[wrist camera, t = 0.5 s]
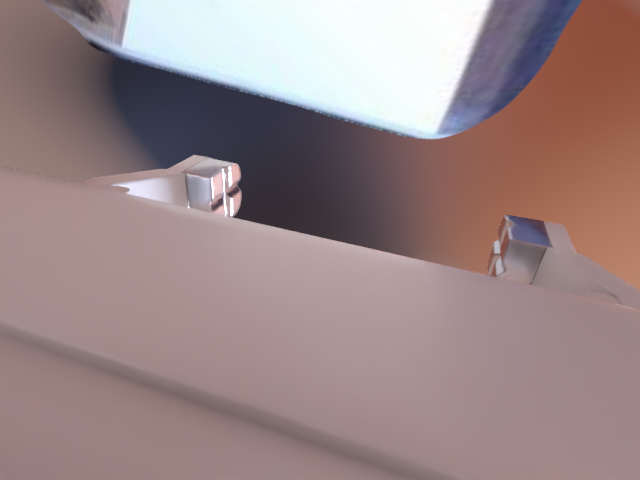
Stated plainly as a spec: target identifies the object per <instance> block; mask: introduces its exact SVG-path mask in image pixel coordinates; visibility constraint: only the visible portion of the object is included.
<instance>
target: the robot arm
mask: <svg viewBox="0 0 640 480" xmlns="http://www.w3.org/2000/svg"><path fill="white" fill-rule="evenodd" d="M240 178H241V176H240V168H239V166H238V164H235V163H230V162H225V161H221V160H216V159H211V158H209V157H203V156H197V155H193V156H192V157H190V158H188V159H186V160H184V161H182V162H180V163H178V164H176V165H174V166H172V167H171V168H169V169H167V170H166V169H157V170H149V171H142V172H135V173H127V174H120V175H112V176H104V177H97V178H89V179H87V180H85V181H83V182H81V183H77V182H72V181H68V180H64V179H59V178H55V177H51V176H46V175H42V174H37V173H33V172H29V171H24V170H20V169H15V168H11V167H6V166H2V165H0V480H640V290H638V289H637V288H635V287H634V286H632V285H630V284H629V283H627V282H626V281H624V280H622V279H621V278H619V277H618V276H616V275H615V274H613V273H611V272H610V271H608V270H607V269H605V268H603V267H602V266H600V265H599V264H597V263H596V262H594V261H592V260H591V259H589V258H588V257H586V256H584V255H583V254H578V253H576V251H575V249H574V246H573V244H572V242H571V240H570V237H569V235H568V233H567V231H566V228H565V226H564V225H560V224H554V223H548V222H544V221H540V220H533V219H528V218H522V217H516V216H510V215H504V216H503V218H502V220H501V222H500V225H499V227H498V237H499V240H497V241H496V242H494V243H493V245H492V248H491V252H490V255H489V259H488V266H487V274H488V275H485V274H480V273H476V272H472V271H467V270H463V269H458V268H454V267H449V266H445V265H440V264H436V263H432V262H427V261H423V260H419V259H414V258H409V257H405V256H401V255H396V254H392V253H388V252H383V251H378V250H374V249H369V248H365V247H361V246H356V245H352V244H347V243H343V242H338V241H334V240H330V239H325V238H320V237H316V236H311V235H308V234H303V233H299V232H294V231H290V230H285V229H281V228H276V227H272V226H267V225H263V224H258V223H254V222H250V221H245V220H241V219H236V218H232V217H233V216H234V215H235V214H236V213H237V211H238V209H239V207H240V204H241V190H240V189H239V187H238V185H237V183H238V181H239V180H240Z"/></svg>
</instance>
